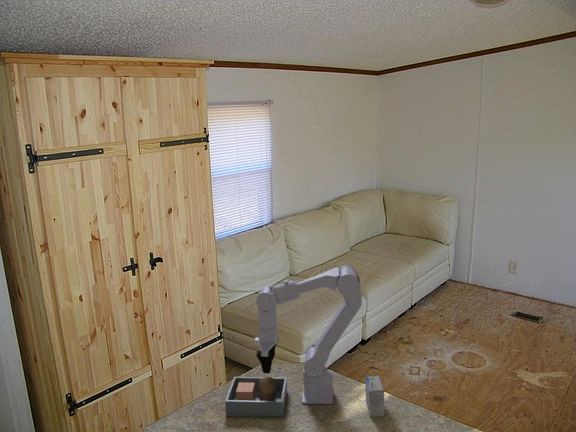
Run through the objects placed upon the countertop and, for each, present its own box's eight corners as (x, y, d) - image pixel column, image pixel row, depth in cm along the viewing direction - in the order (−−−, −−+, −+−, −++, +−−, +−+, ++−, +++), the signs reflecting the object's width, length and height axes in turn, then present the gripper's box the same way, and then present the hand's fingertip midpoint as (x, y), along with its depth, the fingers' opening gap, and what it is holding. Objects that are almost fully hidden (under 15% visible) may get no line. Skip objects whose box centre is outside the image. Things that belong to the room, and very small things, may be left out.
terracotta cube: (239, 396, 146) (238, 382, 145) (255, 396, 145) (254, 382, 144) (237, 406, 141) (236, 391, 140) (253, 406, 140) (252, 391, 139)
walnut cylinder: (261, 396, 145) (260, 376, 144) (277, 397, 144) (276, 377, 143) (258, 406, 141) (257, 385, 139) (274, 407, 140) (273, 386, 138)
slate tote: (287, 391, 148) (286, 377, 147) (283, 417, 136) (282, 402, 135) (235, 390, 150) (234, 376, 149) (226, 416, 137) (224, 401, 136)
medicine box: (384, 417, 134) (384, 390, 132) (369, 417, 134) (369, 390, 132) (379, 400, 142) (379, 375, 140) (365, 401, 142) (365, 375, 140)
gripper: (258, 315, 149) (259, 353, 152) (250, 336, 135) (251, 378, 138) (279, 316, 148) (280, 354, 151) (274, 337, 134) (275, 379, 137)
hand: (268, 366), depth 144 cm, fingers open, 7 cm apart
